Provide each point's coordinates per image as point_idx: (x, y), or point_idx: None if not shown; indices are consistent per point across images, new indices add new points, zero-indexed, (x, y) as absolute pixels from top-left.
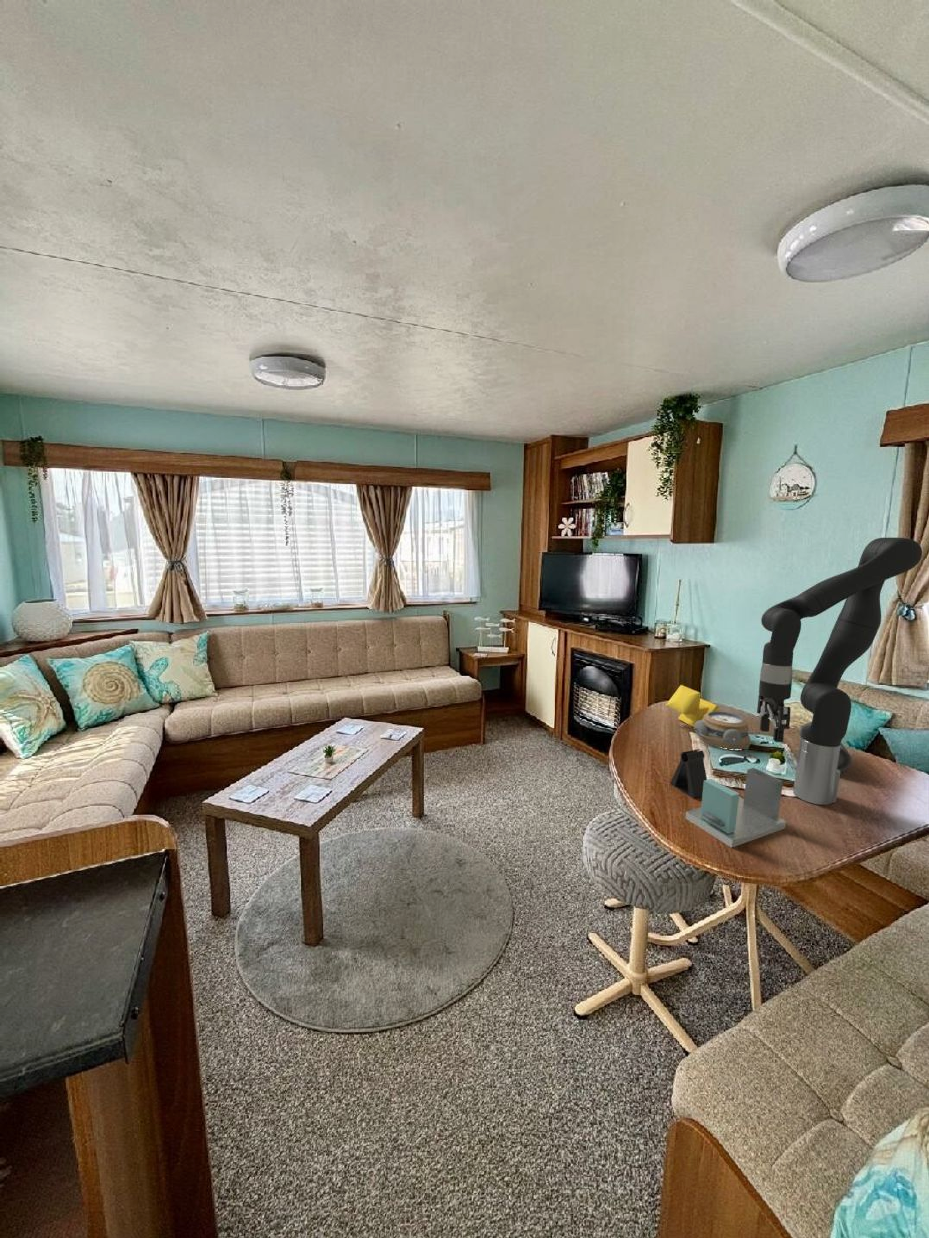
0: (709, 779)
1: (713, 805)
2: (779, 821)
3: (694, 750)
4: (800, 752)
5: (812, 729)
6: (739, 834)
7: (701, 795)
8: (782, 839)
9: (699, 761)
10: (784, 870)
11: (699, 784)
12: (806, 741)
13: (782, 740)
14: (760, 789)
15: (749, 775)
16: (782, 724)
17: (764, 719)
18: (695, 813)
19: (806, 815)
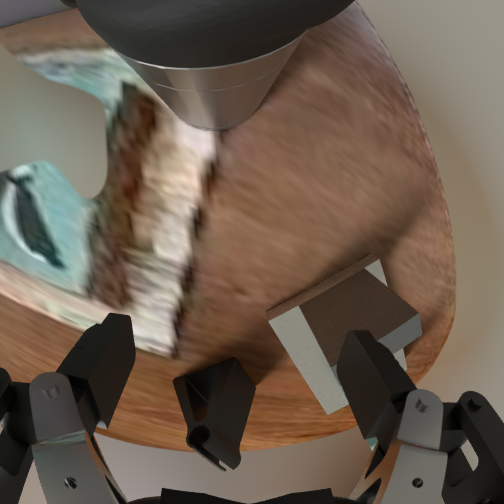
0: (371, 448)
1: None
2: (379, 274)
3: (206, 456)
4: (195, 97)
5: (333, 12)
6: (399, 358)
7: (246, 375)
8: (399, 278)
9: (219, 430)
10: (448, 309)
11: (240, 393)
12: (233, 64)
13: (380, 343)
14: None
15: None
16: (459, 446)
17: (102, 411)
18: (335, 405)
19: (319, 164)
